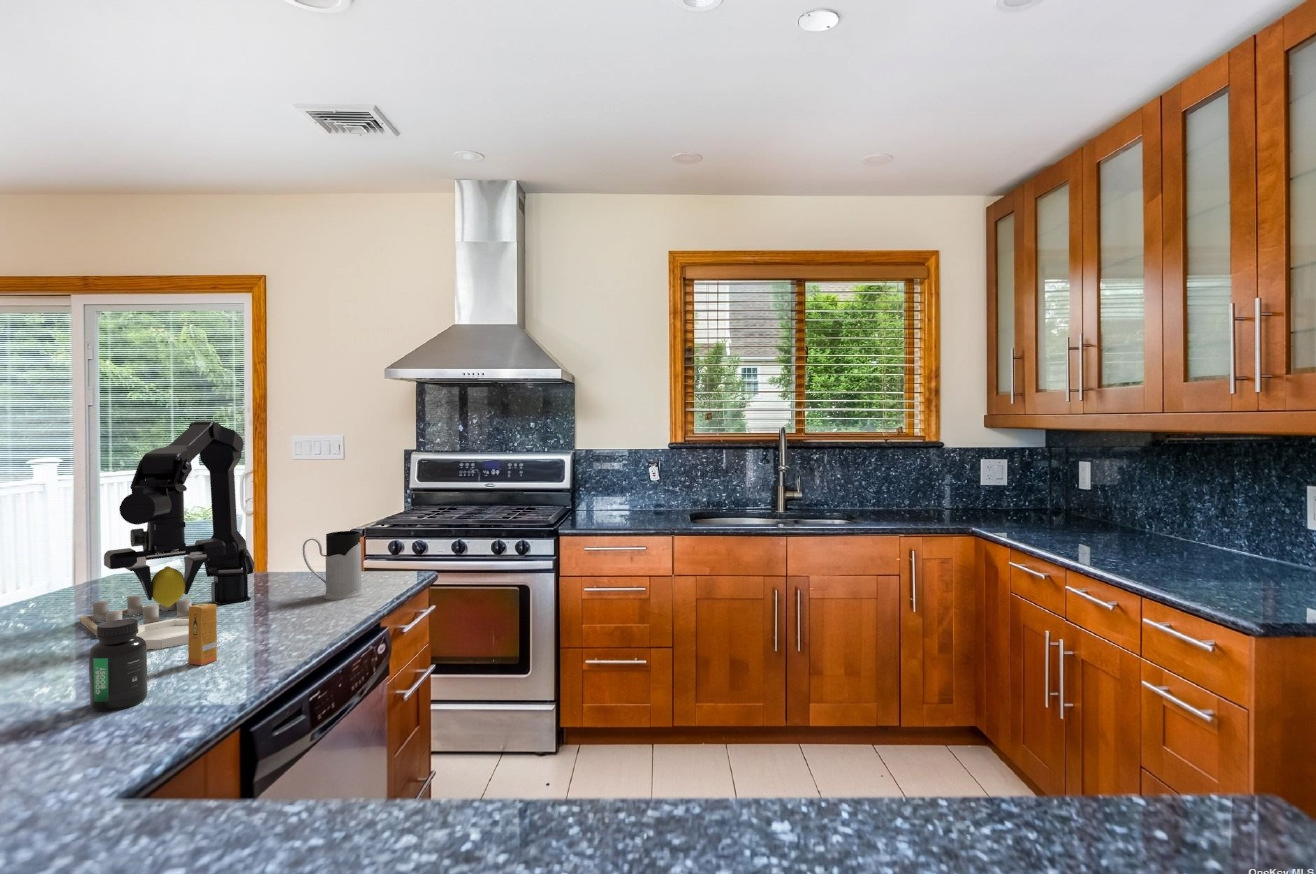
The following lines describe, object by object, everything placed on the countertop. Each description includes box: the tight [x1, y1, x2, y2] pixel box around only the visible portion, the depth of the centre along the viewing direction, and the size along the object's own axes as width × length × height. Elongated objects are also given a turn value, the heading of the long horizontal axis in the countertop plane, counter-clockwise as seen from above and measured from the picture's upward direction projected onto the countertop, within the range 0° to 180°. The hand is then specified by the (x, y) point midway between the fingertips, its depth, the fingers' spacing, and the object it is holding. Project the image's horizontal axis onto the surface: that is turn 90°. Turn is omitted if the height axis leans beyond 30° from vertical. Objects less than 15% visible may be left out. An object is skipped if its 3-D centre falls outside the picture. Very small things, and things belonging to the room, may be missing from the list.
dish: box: [136, 618, 189, 650], centre depth 136 cm, size 14×14×2 cm
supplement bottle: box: [88, 618, 148, 713], centre depth 104 cm, size 7×7×12 cm
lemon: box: [151, 565, 185, 607], centre depth 136 cm, size 6×6×8 cm
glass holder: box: [302, 530, 364, 601], centre depth 170 cm, size 9×14×15 cm, turn 89°
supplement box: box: [187, 603, 218, 666], centre depth 122 cm, size 3×3×10 cm
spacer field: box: [79, 594, 193, 636], centre depth 149 cm, size 18×18×4 cm
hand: (168, 597), depth 136 cm, fingers closed on lemon, 5 cm apart
